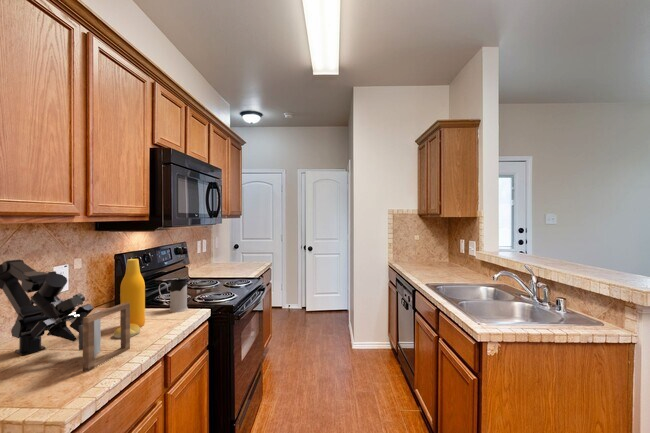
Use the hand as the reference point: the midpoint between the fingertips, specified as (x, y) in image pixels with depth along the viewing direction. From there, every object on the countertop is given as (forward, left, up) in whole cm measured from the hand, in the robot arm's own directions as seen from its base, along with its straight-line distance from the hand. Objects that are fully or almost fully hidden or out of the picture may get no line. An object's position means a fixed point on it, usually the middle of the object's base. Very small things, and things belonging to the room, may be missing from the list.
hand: (81, 337), depth 107 cm
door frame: (+9, +4, -7) cm, 12 cm away
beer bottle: (-15, +26, -7) cm, 31 cm away
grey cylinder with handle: (-21, +50, -7) cm, 55 cm away
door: (+4, -1, -6) cm, 7 cm away
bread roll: (-7, +20, -7) cm, 22 cm away
